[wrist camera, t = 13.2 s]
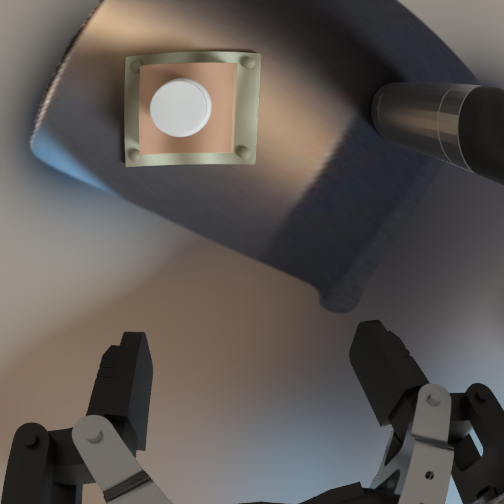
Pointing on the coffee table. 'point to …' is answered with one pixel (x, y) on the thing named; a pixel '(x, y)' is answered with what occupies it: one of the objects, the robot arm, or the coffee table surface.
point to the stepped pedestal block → (222, 115)
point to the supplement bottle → (181, 107)
